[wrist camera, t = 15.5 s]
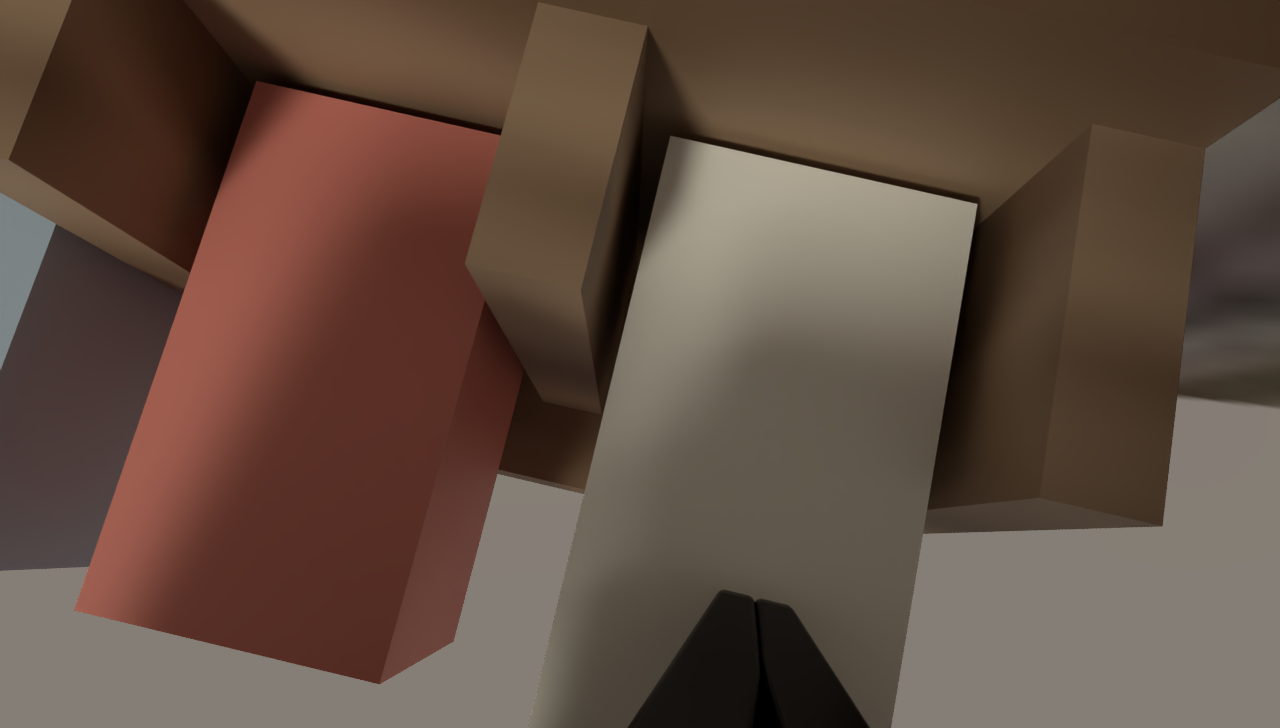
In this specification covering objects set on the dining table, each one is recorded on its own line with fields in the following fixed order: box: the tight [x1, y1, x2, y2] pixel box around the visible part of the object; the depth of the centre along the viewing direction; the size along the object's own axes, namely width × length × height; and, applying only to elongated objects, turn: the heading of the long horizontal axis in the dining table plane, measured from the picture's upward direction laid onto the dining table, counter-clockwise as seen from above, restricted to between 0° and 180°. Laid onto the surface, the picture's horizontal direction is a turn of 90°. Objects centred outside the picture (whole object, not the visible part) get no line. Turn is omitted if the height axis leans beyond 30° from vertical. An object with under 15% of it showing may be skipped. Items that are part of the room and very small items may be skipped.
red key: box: [75, 81, 525, 684], centre depth 15 cm, size 5×4×8 cm
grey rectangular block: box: [0, 193, 183, 571], centre depth 15 cm, size 5×4×8 cm
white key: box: [528, 136, 977, 728], centre depth 13 cm, size 5×4×8 cm
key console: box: [0, 0, 1280, 534], centre depth 14 cm, size 12×19×6 cm, turn 89°
